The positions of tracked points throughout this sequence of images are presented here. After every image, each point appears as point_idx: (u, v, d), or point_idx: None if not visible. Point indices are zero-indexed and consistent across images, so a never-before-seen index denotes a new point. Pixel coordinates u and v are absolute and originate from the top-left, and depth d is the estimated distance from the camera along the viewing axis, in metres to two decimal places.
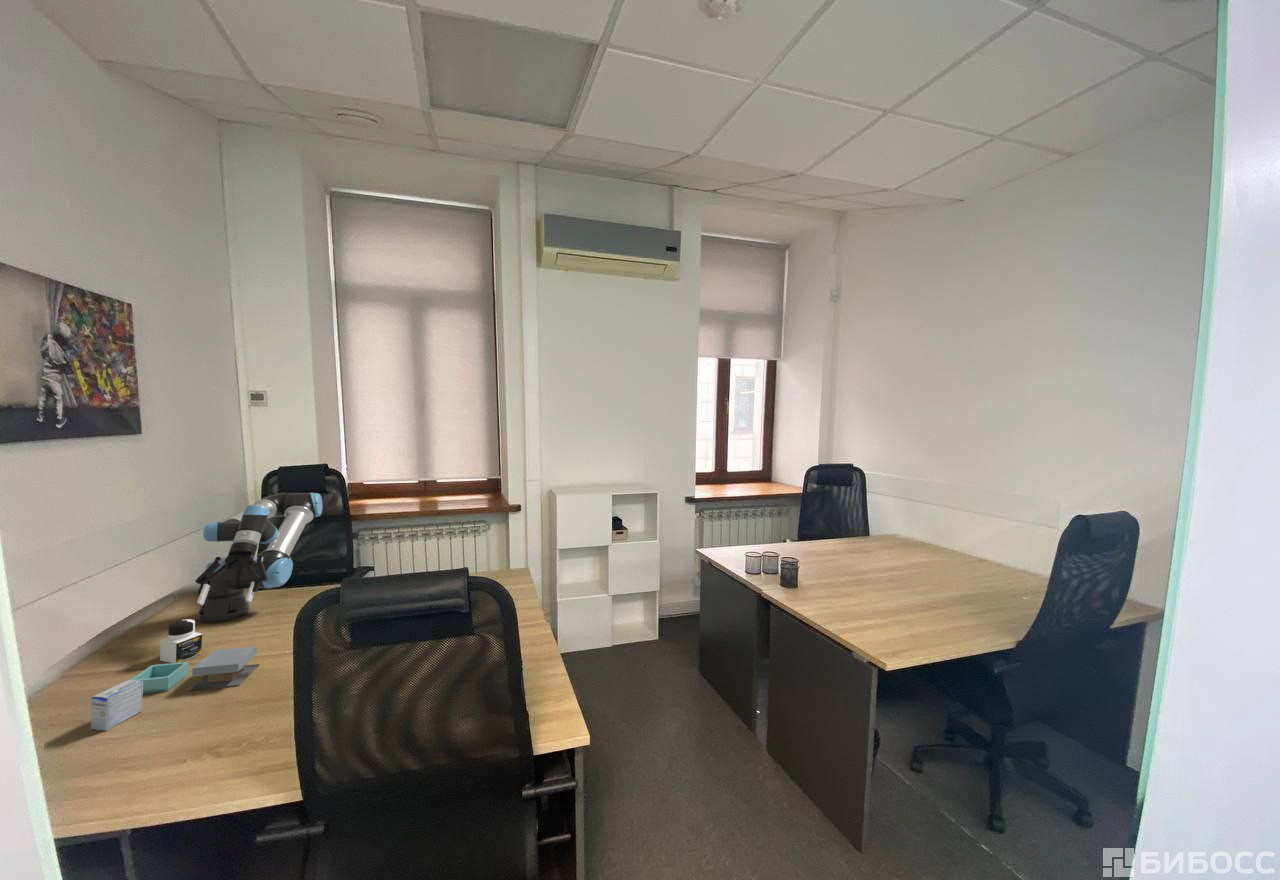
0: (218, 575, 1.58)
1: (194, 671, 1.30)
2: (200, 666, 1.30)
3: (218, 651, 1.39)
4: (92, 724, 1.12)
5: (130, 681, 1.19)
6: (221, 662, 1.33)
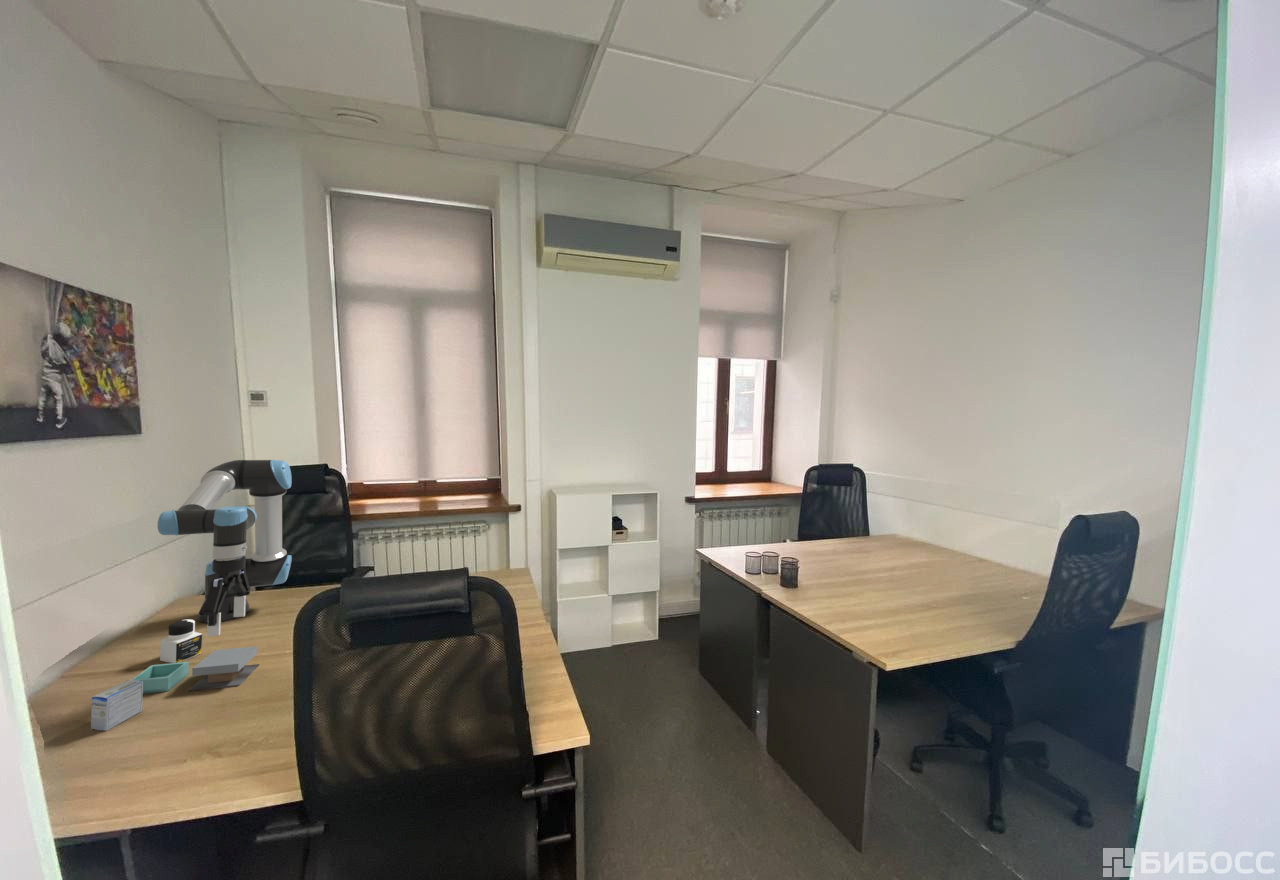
0: None
1: (194, 671, 1.30)
2: (200, 666, 1.30)
3: (218, 651, 1.39)
4: (92, 724, 1.12)
5: (130, 681, 1.19)
6: (221, 662, 1.33)
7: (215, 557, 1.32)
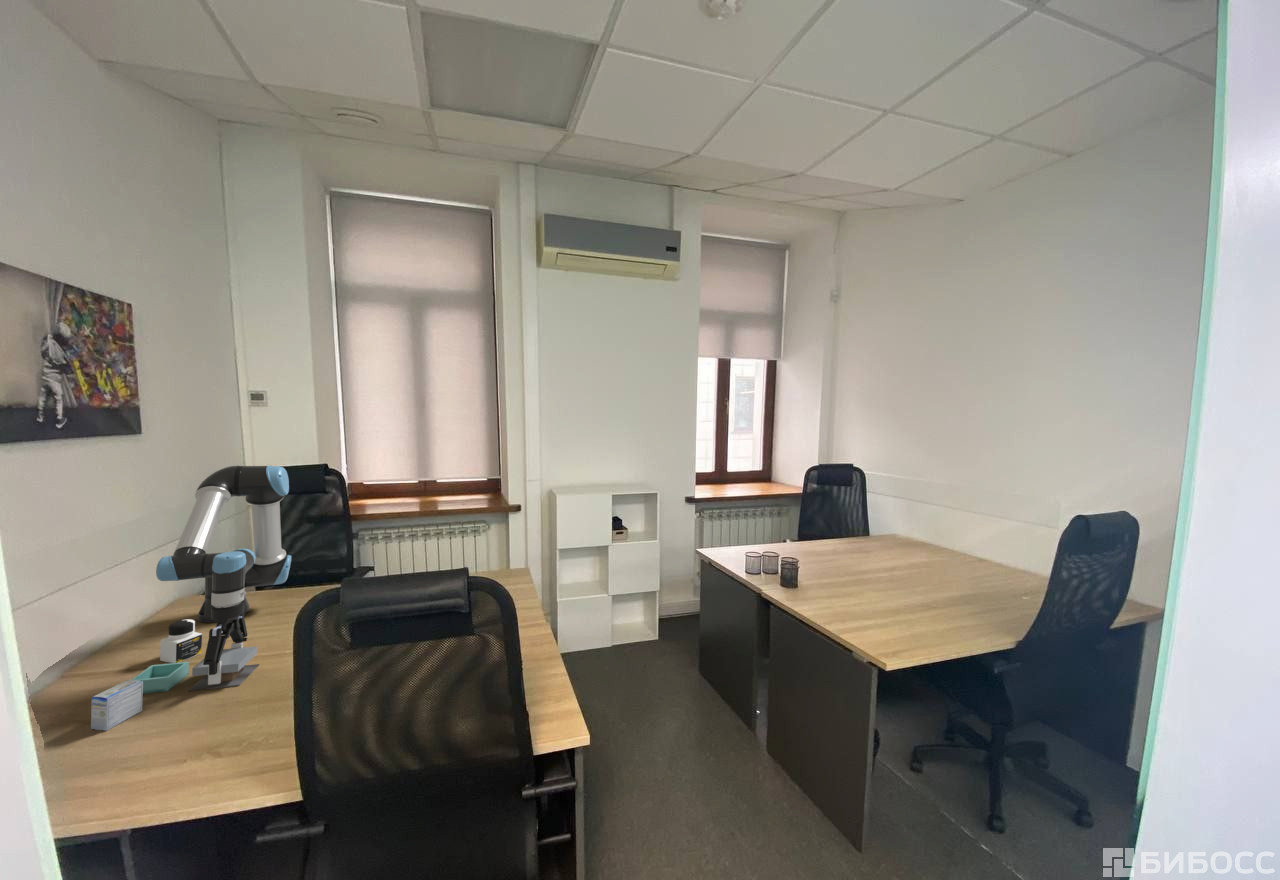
0: None
1: (194, 671, 1.30)
2: (200, 666, 1.30)
3: None
4: (92, 724, 1.12)
5: (130, 681, 1.19)
6: None
7: (214, 604, 1.32)
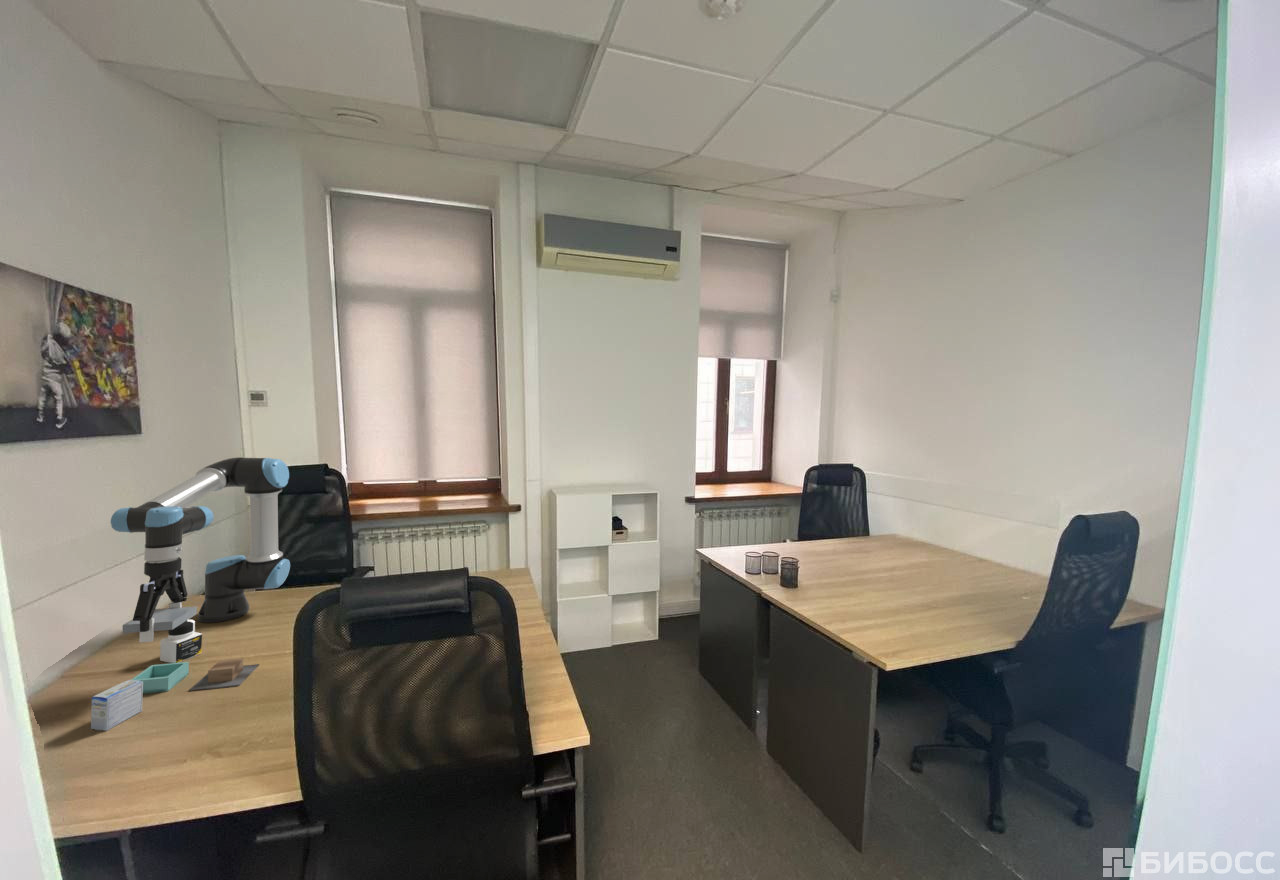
0: None
1: (124, 628, 1.24)
2: (131, 623, 1.25)
3: None
4: (92, 724, 1.12)
5: (130, 681, 1.19)
6: (155, 620, 1.28)
7: (146, 559, 1.27)
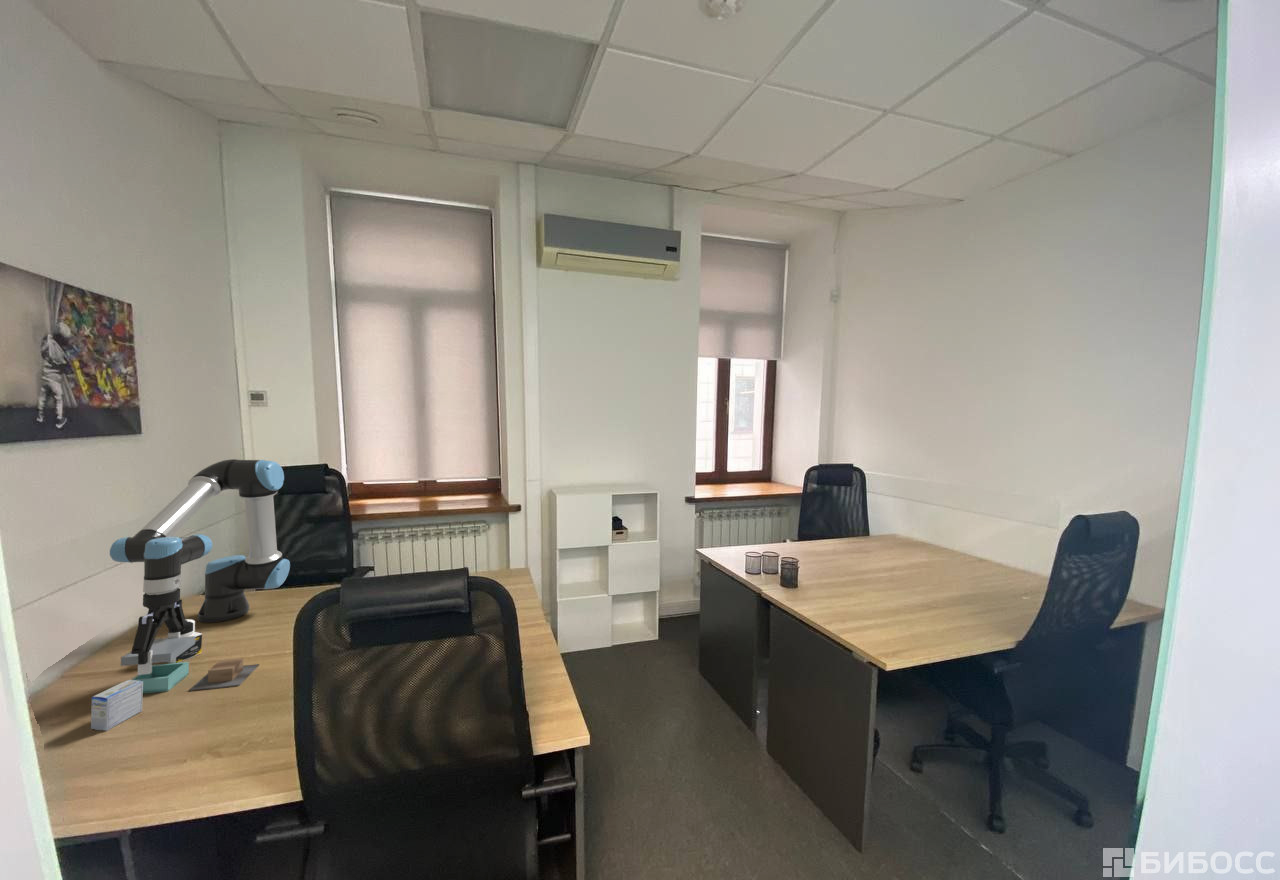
0: None
1: (123, 660, 1.24)
2: (130, 655, 1.25)
3: None
4: (92, 724, 1.12)
5: (130, 681, 1.19)
6: (153, 652, 1.28)
7: (145, 591, 1.27)
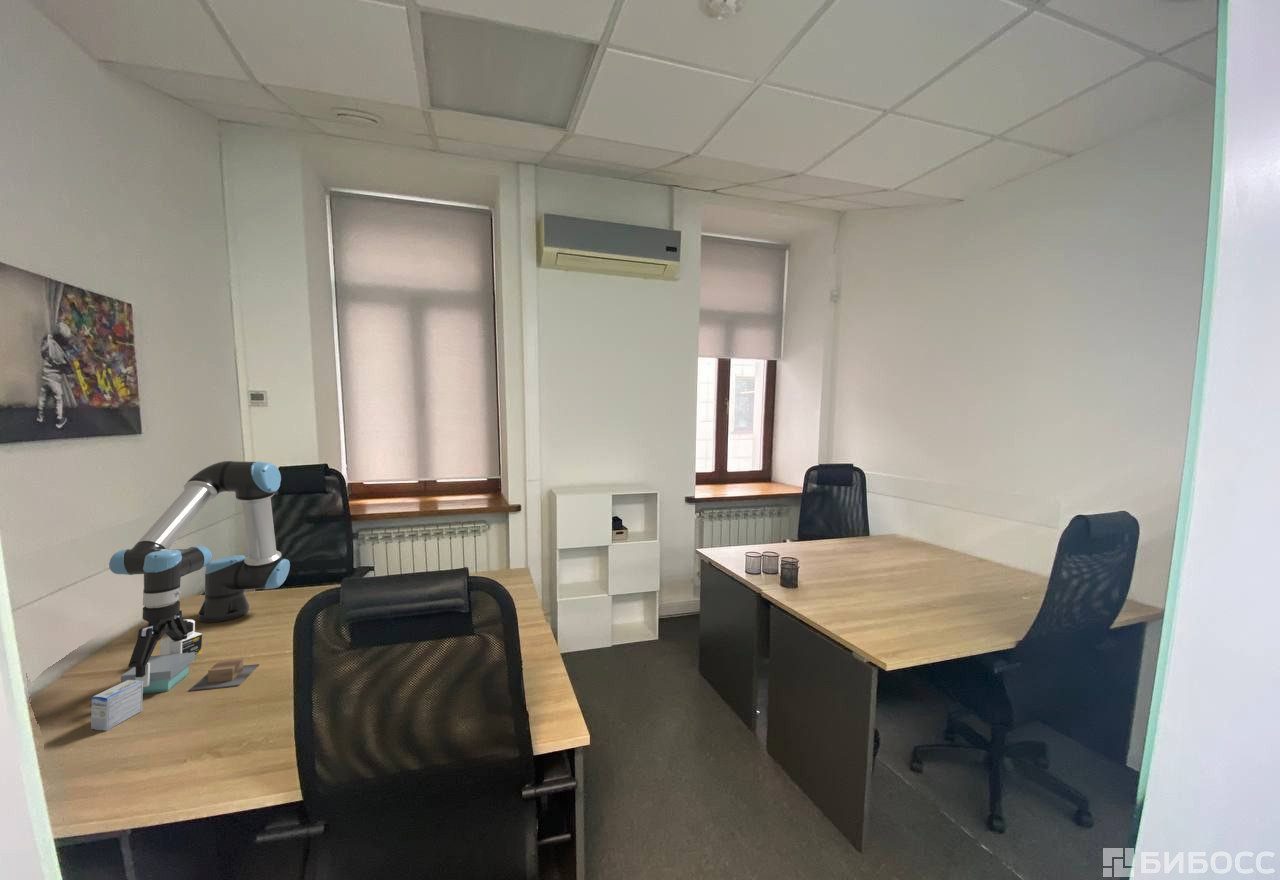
0: None
1: (123, 678, 1.25)
2: (130, 673, 1.26)
3: (153, 657, 1.34)
4: (92, 724, 1.12)
5: (130, 681, 1.19)
6: (153, 669, 1.28)
7: (145, 604, 1.27)
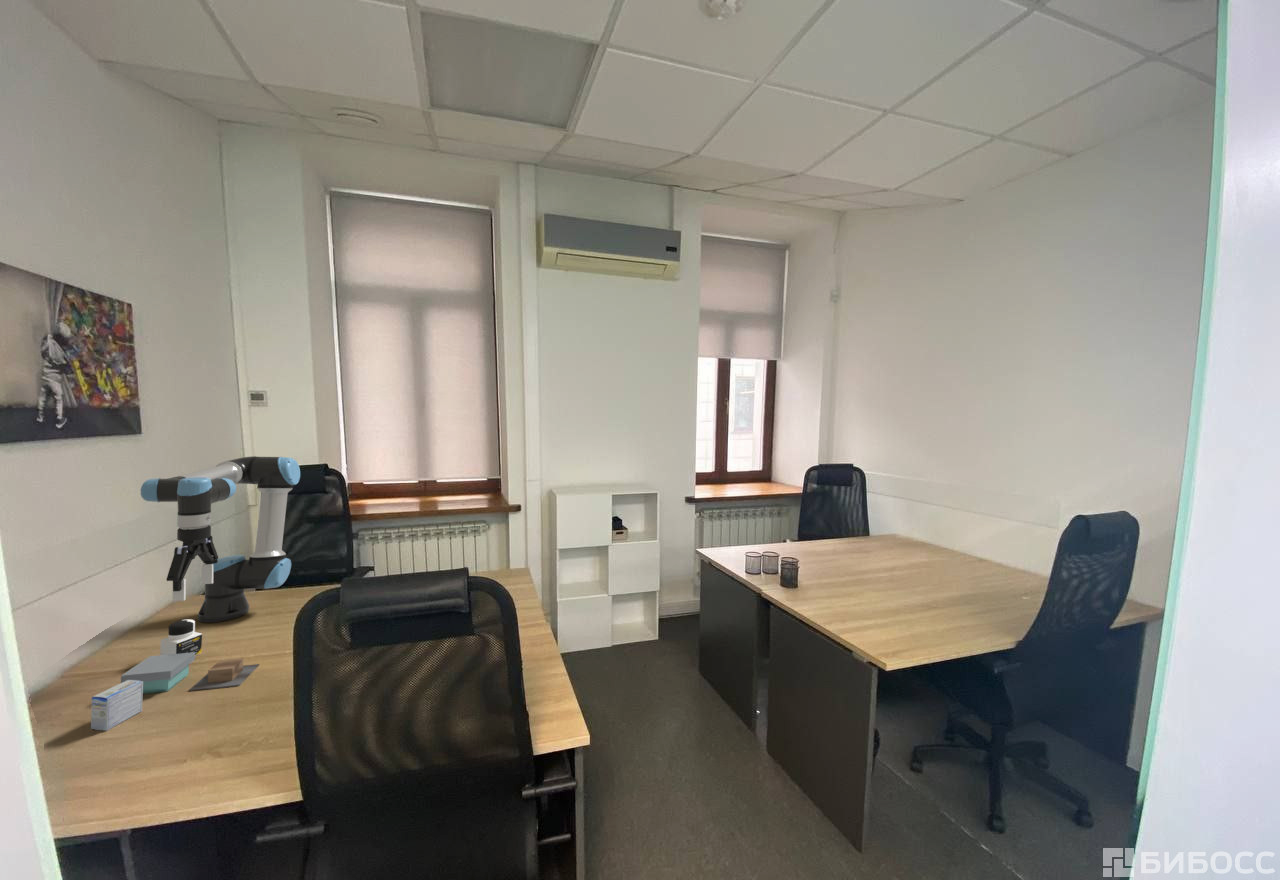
0: None
1: (123, 678, 1.25)
2: (130, 673, 1.26)
3: (153, 657, 1.34)
4: (92, 724, 1.12)
5: (130, 681, 1.19)
6: (153, 669, 1.28)
7: (179, 526, 1.36)
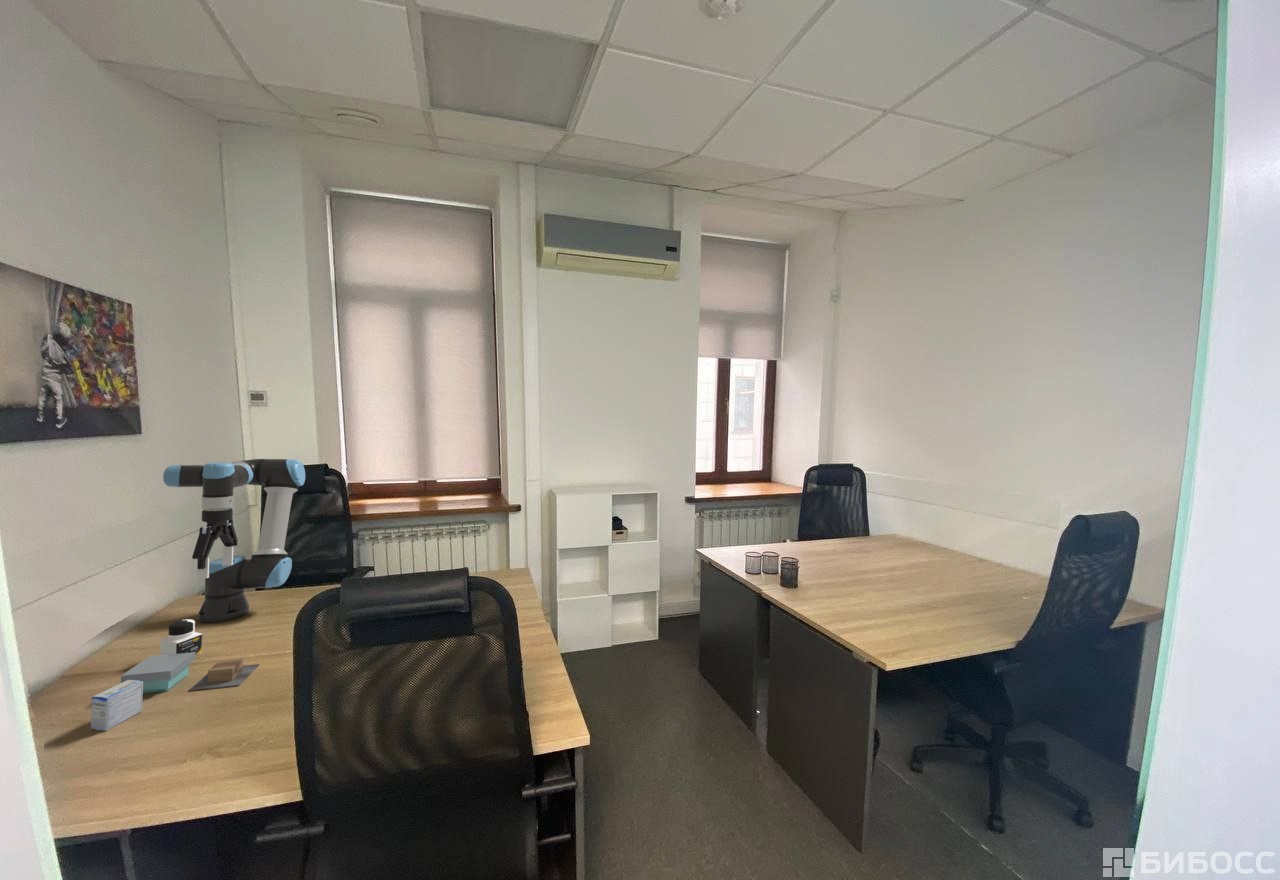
0: None
1: (123, 678, 1.25)
2: (130, 673, 1.26)
3: (153, 657, 1.34)
4: (92, 724, 1.12)
5: (130, 681, 1.19)
6: (153, 669, 1.28)
7: (204, 507, 1.43)
